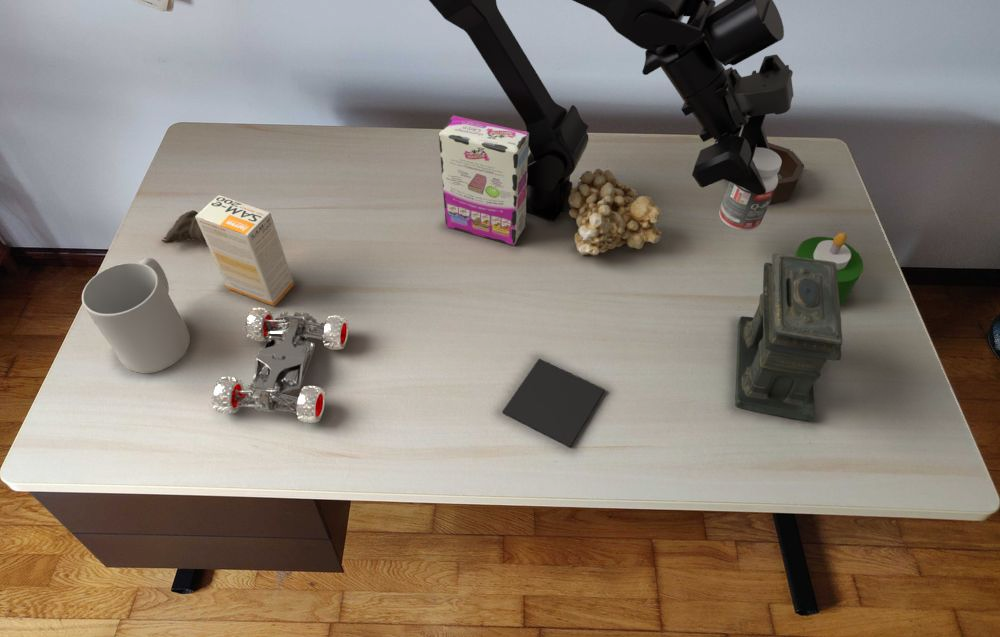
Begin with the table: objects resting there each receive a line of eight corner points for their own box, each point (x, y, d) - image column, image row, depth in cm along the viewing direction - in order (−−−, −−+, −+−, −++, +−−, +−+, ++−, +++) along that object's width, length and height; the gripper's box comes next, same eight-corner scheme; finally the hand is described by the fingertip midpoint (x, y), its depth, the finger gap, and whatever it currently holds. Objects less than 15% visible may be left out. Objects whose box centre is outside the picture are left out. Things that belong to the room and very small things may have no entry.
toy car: (318, 431, 80) (309, 407, 76) (218, 419, 81) (204, 395, 77) (352, 330, 90) (345, 304, 86) (262, 321, 91) (251, 295, 87)
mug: (178, 374, 85) (144, 317, 77) (109, 373, 85) (67, 315, 77) (207, 301, 93) (178, 241, 85) (143, 300, 93) (108, 240, 85)
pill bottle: (747, 238, 92) (771, 179, 84) (710, 218, 94) (730, 158, 87) (768, 217, 95) (794, 158, 87) (732, 198, 97) (753, 138, 89)
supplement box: (296, 284, 95) (273, 211, 85) (274, 308, 92) (248, 235, 82) (247, 265, 97) (219, 192, 87) (224, 288, 94) (192, 215, 84)
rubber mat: (502, 413, 82) (502, 411, 82) (538, 360, 87) (539, 358, 87) (570, 448, 79) (570, 446, 79) (604, 391, 84) (604, 389, 84)
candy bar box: (526, 225, 103) (531, 131, 90) (514, 247, 100) (518, 153, 87) (457, 206, 106) (452, 112, 93) (443, 227, 102) (437, 133, 90)
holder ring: (721, 189, 108) (728, 169, 105) (741, 156, 114) (748, 135, 111) (783, 211, 105) (792, 191, 102) (801, 176, 111) (810, 155, 108)
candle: (771, 282, 96) (795, 228, 88) (808, 256, 99) (835, 202, 91) (822, 319, 92) (852, 266, 84) (859, 291, 95) (891, 237, 87)
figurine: (162, 252, 100) (238, 258, 98) (147, 230, 96) (226, 235, 94) (181, 221, 104) (256, 226, 102) (168, 198, 100) (244, 203, 98)
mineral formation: (575, 270, 97) (545, 196, 105) (660, 264, 101) (624, 193, 109) (592, 229, 91) (558, 154, 99) (682, 224, 95) (641, 153, 103)
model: (733, 322, 91) (768, 239, 80) (805, 334, 90) (851, 251, 78) (734, 410, 83) (773, 331, 71) (814, 424, 81) (866, 345, 70)
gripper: (751, 90, 71) (821, 202, 77) (777, 9, 82) (837, 112, 88) (660, 135, 79) (730, 233, 85) (696, 56, 90) (755, 148, 96)
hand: (766, 179), depth 89 cm, fingers closed on pill bottle, 5 cm apart
